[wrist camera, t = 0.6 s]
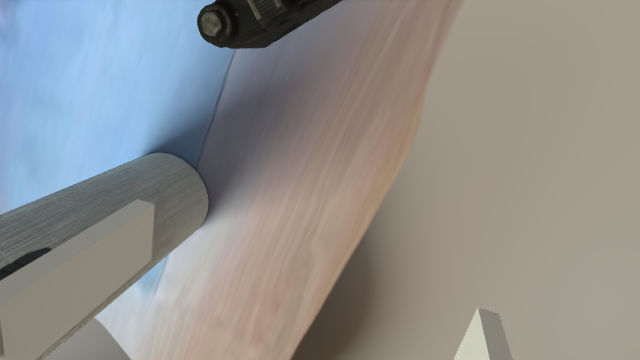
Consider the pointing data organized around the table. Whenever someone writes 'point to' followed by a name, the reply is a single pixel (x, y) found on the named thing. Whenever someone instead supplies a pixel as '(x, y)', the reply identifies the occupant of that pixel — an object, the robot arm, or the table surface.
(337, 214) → the table surface
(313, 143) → the table surface
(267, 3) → the camera
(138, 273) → the vase
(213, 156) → the table surface
